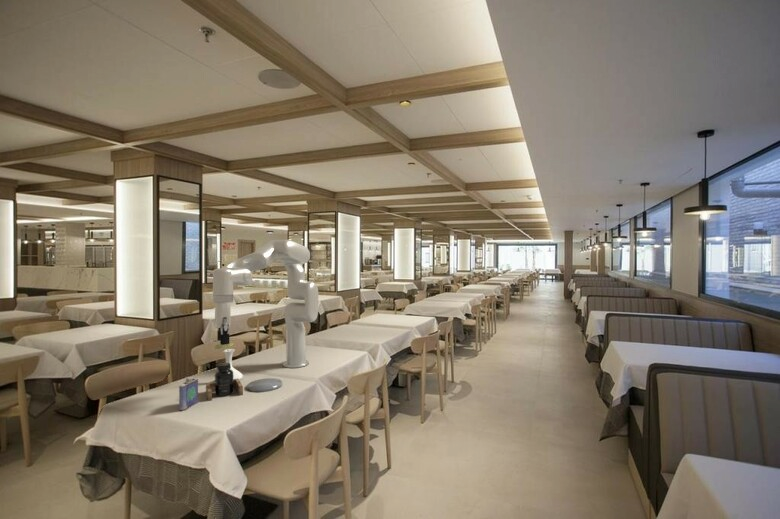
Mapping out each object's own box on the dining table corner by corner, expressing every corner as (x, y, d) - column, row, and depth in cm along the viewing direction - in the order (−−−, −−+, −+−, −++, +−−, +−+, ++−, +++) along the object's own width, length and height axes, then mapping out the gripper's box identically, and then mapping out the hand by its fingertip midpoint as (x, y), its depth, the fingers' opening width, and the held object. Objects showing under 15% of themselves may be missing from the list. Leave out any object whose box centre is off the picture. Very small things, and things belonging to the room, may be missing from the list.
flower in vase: (239, 376, 179) (239, 321, 178) (245, 382, 169) (245, 325, 169) (208, 381, 171) (208, 324, 171) (213, 388, 162) (212, 328, 162)
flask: (184, 411, 138) (183, 381, 138) (176, 411, 138) (176, 380, 138) (199, 401, 147) (199, 373, 147) (192, 401, 147) (192, 373, 147)
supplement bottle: (215, 392, 157) (214, 362, 157) (233, 390, 159) (233, 361, 159) (214, 398, 150) (214, 367, 150) (233, 395, 153) (233, 365, 153)
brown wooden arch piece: (205, 392, 157) (205, 383, 157) (238, 386, 163) (238, 378, 163) (208, 400, 147) (208, 391, 147) (242, 394, 154) (242, 386, 154)
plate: (244, 384, 166) (244, 381, 166) (277, 379, 173) (277, 376, 173) (250, 394, 154) (250, 391, 154) (285, 388, 161) (285, 385, 161)
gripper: (210, 298, 160) (210, 339, 160) (215, 301, 145) (215, 347, 145) (230, 297, 164) (230, 337, 164) (236, 300, 149) (236, 345, 149)
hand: (223, 342), depth 155 cm, fingers open, 9 cm apart
